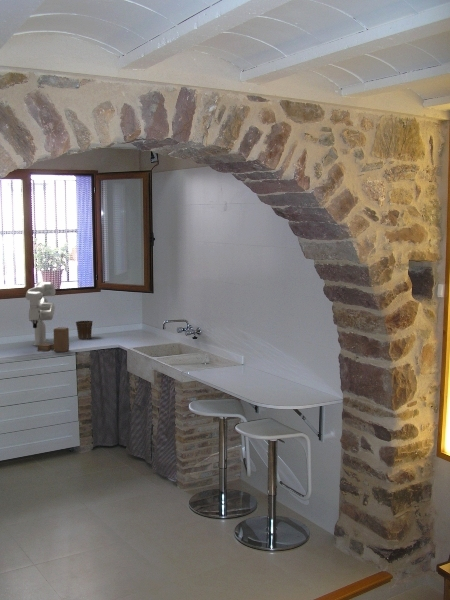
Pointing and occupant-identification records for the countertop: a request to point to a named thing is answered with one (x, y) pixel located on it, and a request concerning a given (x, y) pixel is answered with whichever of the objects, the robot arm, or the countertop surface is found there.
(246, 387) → the countertop surface
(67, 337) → the wooden block
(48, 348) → the walnut block
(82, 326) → the plant pot
